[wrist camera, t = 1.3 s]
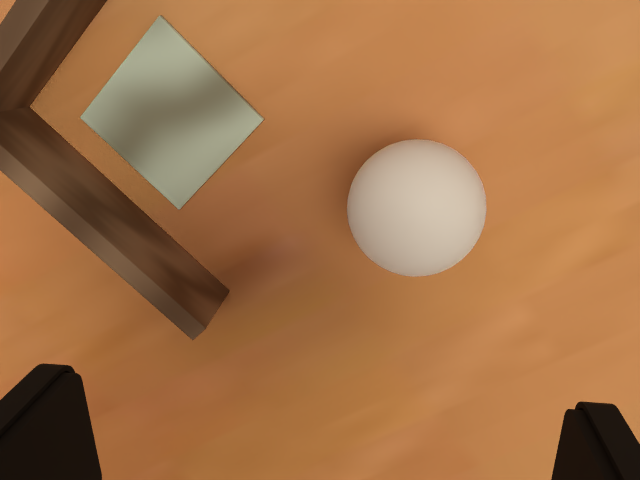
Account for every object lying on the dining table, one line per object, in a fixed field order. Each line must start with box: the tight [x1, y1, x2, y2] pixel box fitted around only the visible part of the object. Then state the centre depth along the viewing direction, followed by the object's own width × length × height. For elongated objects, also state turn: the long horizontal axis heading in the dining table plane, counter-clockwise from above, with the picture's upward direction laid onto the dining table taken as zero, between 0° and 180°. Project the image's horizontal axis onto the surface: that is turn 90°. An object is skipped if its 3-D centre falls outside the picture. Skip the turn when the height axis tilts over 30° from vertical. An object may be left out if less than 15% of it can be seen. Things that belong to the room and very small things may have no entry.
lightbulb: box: [347, 139, 486, 277], centre depth 26 cm, size 6×6×11 cm
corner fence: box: [0, 0, 264, 340], centre depth 29 cm, size 18×18×5 cm
